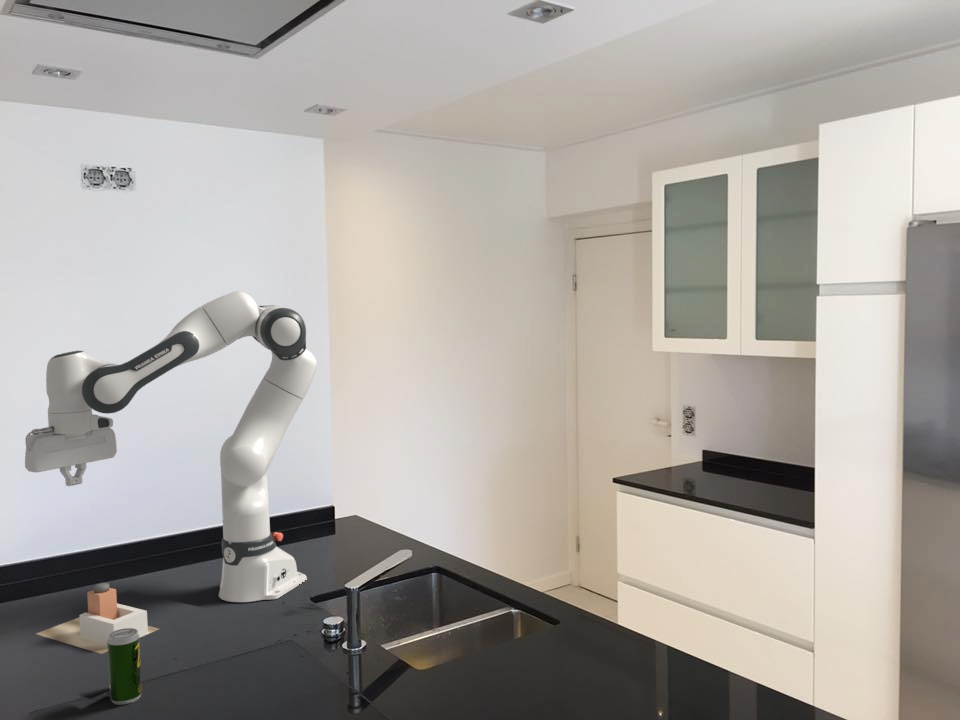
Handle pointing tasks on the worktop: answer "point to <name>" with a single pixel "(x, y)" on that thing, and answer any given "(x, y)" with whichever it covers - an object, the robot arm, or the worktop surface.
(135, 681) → the beer can
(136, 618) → the socket
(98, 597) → the plug
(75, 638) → the base board
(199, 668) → the worktop surface
